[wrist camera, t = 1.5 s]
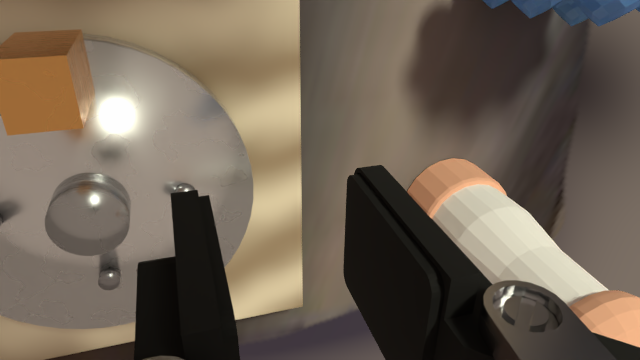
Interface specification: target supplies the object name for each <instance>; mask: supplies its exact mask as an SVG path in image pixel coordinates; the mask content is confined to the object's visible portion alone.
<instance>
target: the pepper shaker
mask: <svg viewBox="0 0 640 360" xmlns="http://www.w3.org/2000/svg"><path fill="white" fill-rule="evenodd" d="M407 193H408V194H409V195H410V196H411V197H412V198H413V199H414V200H415V201H416V202H417V204H418V205H419V206H420V207H421V208H422V209H423V210H424V211H425V212H426V213H427V214H428V216H429V217H430V218H432V219H433V220H434V221H435V222H436V224H437V225H438V226H439V227H440V228H441V229H442V230H443V231H444V232H445V233H446V234H447V235H448V237H449V238H450V239H451V240H452V241H453V242H454V243H455V244H456V245H457V246H458V247H459V248H460V250H461V251H462V252H463V253H464V254H465V255H466V256H467V257H468V258H469V259H470V260H471V261H472V263H473V264H474V265H475V266H476V267H477V268H478V269H479V270H480V271H481V272H482V273H483V274H484V276H485V277H486V278H487V279H488V280H489V281H490V282H491V283H492V284H494V283H497V282H501V281H505V280H519V281H524V282H530V283H533V284H536V285H538V286H541V287H544V288H545V289H547V290H549V291H551V292H552V293H554V294H556V295H557V296H558V297H559V298H560V299H561V300H562V301H564V302H565V303H566V304H567V306H568V307H569V308H570V309H571V310H572V311H573V312H574V313H575V314H576V315H577V317H578V318H579V319H580V320H581V321H582V322H583V323H584V324H585V325H586V326H587V327H588V329H589V330H590V331H591V332H593V333H597V334H600V335H603V336H606V337H609V338H612V339H615V340H618V341H621V342H624V343H628V344H631V345H634V346H637V347H640V298H639V297H636V296H634V295H631V294H629V293H626V292H623V291H618V290H611V291H609V290H608V289H607V288H605V287H604V286H603V285H602V284H601V283H600V282H598V281H597V280H596V279H595V278H594V277H592V276H591V275H590V274H589V273H588V272H586V271H585V270H584V269H583V268H582V267H580V266H579V265H578V264H577V263H576V262H575V261H573V260H572V259H571V258H570V257H569V256H567V255H566V254H565V253H564V252H562V251H561V249H560V248H559V247H558V246H557V245H556V244H555V242H554V241H553V240H552V239H551V238H550V237H549V236H548V234H547V233H546V232H545V231H544V230H543V229H542V227H541V226H540V225H539V224H538V223H537V222H536V220H535V219H534V218H533V217H532V216H531V215H530V213H529V212H528V211H526V210H525V209H523V208H522V207H521V206H519V205H518V204H517V203H515V202H514V201H513V200H511V199H510V198H508V197H507V196H506V192H505V191H504V189H503V188H502V187H501V185H500V184H499V183H498V182H497V181H495V180H494V179H493V178H491V177H490V176H489V175H488V174H486V173H485V172H484V171H482V170H481V169H480V168H478V167H477V166H476V165H475V164H473V163H471V162H469V161H467V160H465V159H456V158H452V159H447V160H443V161H439V162H437V163H435V164H434V165H432V166H430V167H428V168H426V169H425V170H424V171H423V172H422V173H421V174H420V175H419V176H418V177H416V179H415V180H414V182H413V183H412V185H411V186H410V188H409V189H408V191H407Z"/></svg>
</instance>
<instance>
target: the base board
mask: <svg viewBox="0 0 640 360" xmlns="http://www.w3.org/2000/svg"><path fill="white" fill-rule="evenodd" d="M77 29H82V33H84V34H91V35H99V36H106V37H111V38H115V39H119V40H123V41H127V42H131V43H134V44H136V45H139V46H142V47H144V48H147V49H149V50H152V51H155V52H157V53H159V54H160V55H162V56H164V57H166V58H168V59H170V60H172V61H174V62H176V63H177V64H179V65H180V66H181V67H183V68H184V69H186V70H187V71H189V72H190V73H191V74H193V75H194V76H196V77H197V78H198V79H199V80H200V81H201V82H202V83H203V84H204V85H205V86H207V87H208V88H209V89H210V90H211V91H212V92H213V94H214V95H215V96H216V97H217V98H218V99H219V101H220V102H221V103H222V104H223V105H224V107H225V108H226V110H227V111H228V113H229V115H230V116H231V118H232V119H233V121H234V123H235V125H236V127H237V129H238V131H239V133H240V136H241V138H242V140H243V143H244V145H245V147H246V150H247V154H248V157H249V161H250V164H251V169H252V176H253V205H252V211H251V217H250V220H249V224H248V227H247V230H246V233H245V235H244V237H243V239H242V241H241V244H240V246H239V248H238V249H237V251H236V252H235V254H234V255H233V257H232V259H231V260H230V262H229V263H228V264H227V265H226V266H225V273H226V277H227V282H228V287H229V292H230V296H231V301H232V306H233V311H234V316H235V320H238V319H243V318H248V317H253V316H258V315H263V314H267V313H272V312H277V311H282V310H287V309H292V308H296V307H301V306H303V296H302V201H301V106H300V11H299V0H0V44H1V43H3V42H5V41H6V40H7V39H8V38H9V37H10V36H11V35H12V34H13V33H15V32H35V31H56V30H77ZM132 341H135V322H132V323H128V324H124V325H118V326H112V327H105V328H93V329H61V328H53V327H45V326H38V325H33V324H29V323H24V322H20V321H16V320H13V319H10V318H7V317H4V316H1V315H0V360H45V359H50V358H55V357H59V356H64V355H69V354H74V353H79V352H84V351H88V350H93V349H98V348H103V347H108V346H113V345H117V344H122V343H127V342H132Z"/></svg>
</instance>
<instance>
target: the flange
mask: <svg viewBox="0 0 640 360" xmlns="http://www.w3.org/2000/svg"><path fill="white" fill-rule="evenodd" d="M191 190H198V195H199V196H205V195H209V197H210V202H211V207H212V211H213V216H214V221H215V225H216V230H217V235H218V240H219V244H220V249H221V254H222V259H223V263H224V268H225V266H226V265H227V264H228V263H229V262H230V260H231V259H232V257H233V255H234V254H235V252H236V251H237V249H238V248H239V246H240V244H241V241H242V239H243V237H244V235H245V233H246V230H247V227H248V224H249V220H250V217H251V211H252V205H253V176H252V169H251V164H250V161H249V157H248V154H247V150H246V147H245V145H244V143H243V140H242V138H241V136H240V133H239V131H238V129H237V127H236V125H235V123H234V121H233V119H232V118H231V116H230V115H229V113H228V111H227V110H226V108H225V107H224V105H223V104H222V103H221V102H220V101H219V99H218V98H217V97H216V96H215V95H214V94H213V92H212V91H211V90H210V89H209V88H208V87H207V86H205V85H204V84H203V83H202V82H201V81H200V80H199V79H198V78H197V77H196V76H194V75H193V74H191V73H190V72H189V71H187V70H186V69H184V68H183V67H181V66H180V65H179V64H177V63H176V62H174V61H172V60H170V59H168V58H166V57H164V56H162V55H160V54H159V53H157V52H155V51H152V50H149V49H147V48H144V47H142V46H139V45H136V44H134V43H131V42H127V41H123V40H119V39H115V38H111V37H106V36H99V35H91V34H84V33H82V29H77V30H56V31H35V32H15V33H13V34H12V35H11V36H10V37H9V38H8V39H7V40H6V41H5V42H3V43H1V44H0V315H1V316H4V317H7V318H10V319H13V320H16V321H20V322H24V323H29V324H33V325H38V326H45V327H53V328H61V329H93V328H105V327H112V326H118V325H124V324H128V323H132V322H136V292H137V267H138V263H139V262H143V261H149V260H155V259H161V258H167V257H173V256H175V247H174V234H173V221H172V208H171V193H176V192H184V191H191Z"/></svg>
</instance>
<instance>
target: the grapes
mask: <svg viewBox="0 0 640 360" xmlns="http://www.w3.org/2000/svg"><path fill="white" fill-rule="evenodd" d="M482 1H483V2H484V3H486V4H487V5H488V6H489V7H490V8H491V9H493V8H495V7H497V6H499V5H501V4H503V3H505V2H507V1H509V0H482ZM511 1H512V2H513V3H514V4H515V5H516V6H517V7H518V8H519V9H520V10H521V11H522V12H523V13H524V14H525V15H527V16H528V17H529V18H533V17H535V16H537V15H539V14H541V13H543V12H545V11H547V10H549V9H551V8H553V9H554V10H555V12H556V13H557V14H558V15H559V16H560V17H561V18H562V19H563V20H565V21H566V22H567V23H568V24H569V25H570V26H573V25H575V24H578V23H580V22H582V21H584V20H586V19H588V18H589V19H590V20H591V21H592V22H594V23H595V24H596V25H597V26H601V25H603V24H606V23H608V22H610V21H613V20H615V19H617V18H619V17H621V16H623V15H625V14H627V13H629V12H630V11H632V10H634V9H636V10H638V11H639V12H640V0H511Z"/></svg>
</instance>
